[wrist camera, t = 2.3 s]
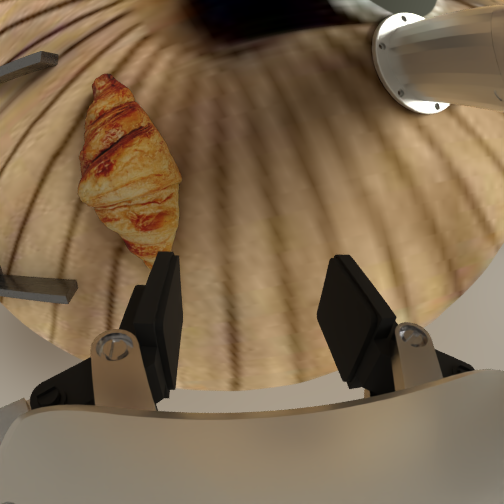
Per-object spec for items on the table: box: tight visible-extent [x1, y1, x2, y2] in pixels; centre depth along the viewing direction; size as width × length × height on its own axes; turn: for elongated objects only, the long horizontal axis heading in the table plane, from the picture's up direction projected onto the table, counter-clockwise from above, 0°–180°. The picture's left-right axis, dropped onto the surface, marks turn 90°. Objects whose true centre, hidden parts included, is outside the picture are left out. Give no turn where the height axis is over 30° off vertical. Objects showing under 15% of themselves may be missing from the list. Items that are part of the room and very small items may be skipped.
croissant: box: [78, 74, 182, 270], centre depth 25 cm, size 21×10×8 cm, turn 12°
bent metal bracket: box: [0, 51, 78, 304], centre depth 23 cm, size 15×28×4 cm, turn 176°
